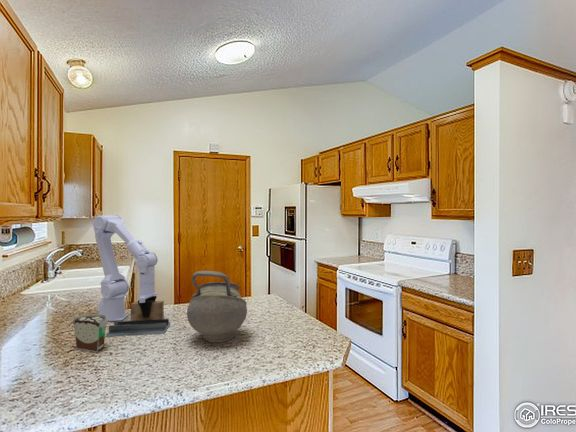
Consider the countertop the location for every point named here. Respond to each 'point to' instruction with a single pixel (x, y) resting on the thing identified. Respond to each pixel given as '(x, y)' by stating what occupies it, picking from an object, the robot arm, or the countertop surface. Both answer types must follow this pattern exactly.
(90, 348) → the food container
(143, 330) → the track
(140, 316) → the door panel
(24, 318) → the countertop surface
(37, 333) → the countertop surface
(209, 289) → the pot
